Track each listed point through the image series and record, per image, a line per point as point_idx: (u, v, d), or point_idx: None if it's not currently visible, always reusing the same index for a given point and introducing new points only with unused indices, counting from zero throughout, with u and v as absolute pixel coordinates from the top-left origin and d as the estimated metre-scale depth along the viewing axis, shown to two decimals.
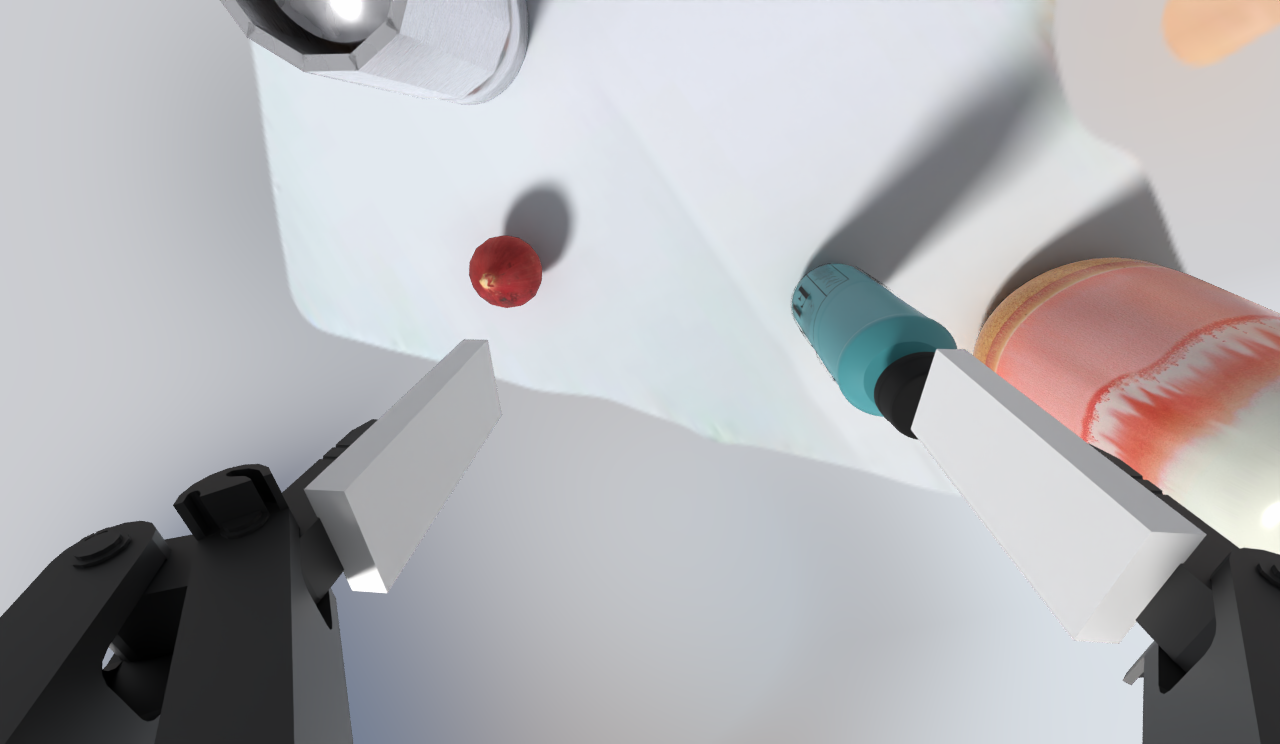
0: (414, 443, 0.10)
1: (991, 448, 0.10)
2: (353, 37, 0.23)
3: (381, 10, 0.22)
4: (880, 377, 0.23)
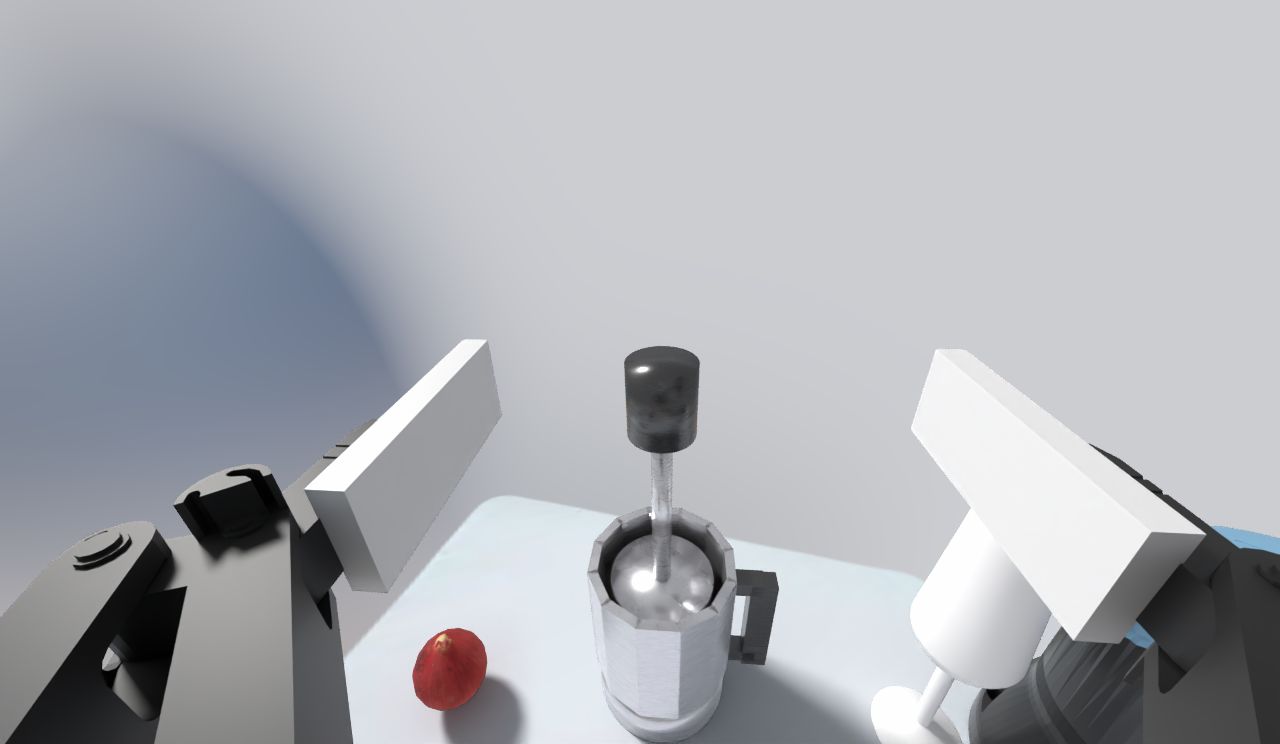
0: (414, 443, 0.10)
1: (991, 448, 0.10)
2: (612, 577, 0.35)
3: (623, 599, 0.33)
4: None
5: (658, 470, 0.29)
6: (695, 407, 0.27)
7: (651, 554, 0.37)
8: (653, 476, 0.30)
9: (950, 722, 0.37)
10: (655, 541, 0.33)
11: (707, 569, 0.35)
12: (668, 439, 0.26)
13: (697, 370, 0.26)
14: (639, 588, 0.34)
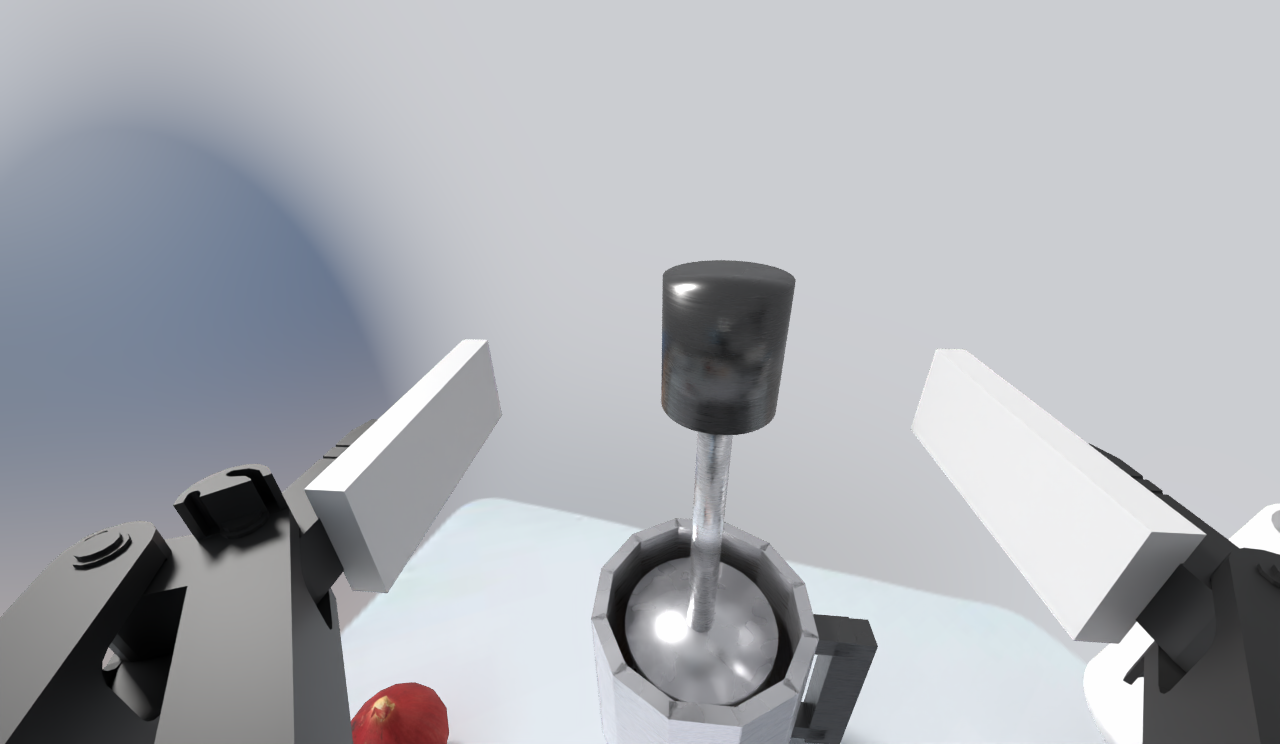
0: (414, 443, 0.10)
1: (991, 448, 0.10)
2: (628, 623, 0.24)
3: (645, 659, 0.22)
4: None
5: (709, 465, 0.18)
6: (783, 356, 0.16)
7: (683, 587, 0.26)
8: (699, 475, 0.19)
9: None
10: (696, 574, 0.21)
11: (766, 613, 0.24)
12: (738, 410, 0.15)
13: (793, 287, 0.14)
14: (668, 641, 0.23)
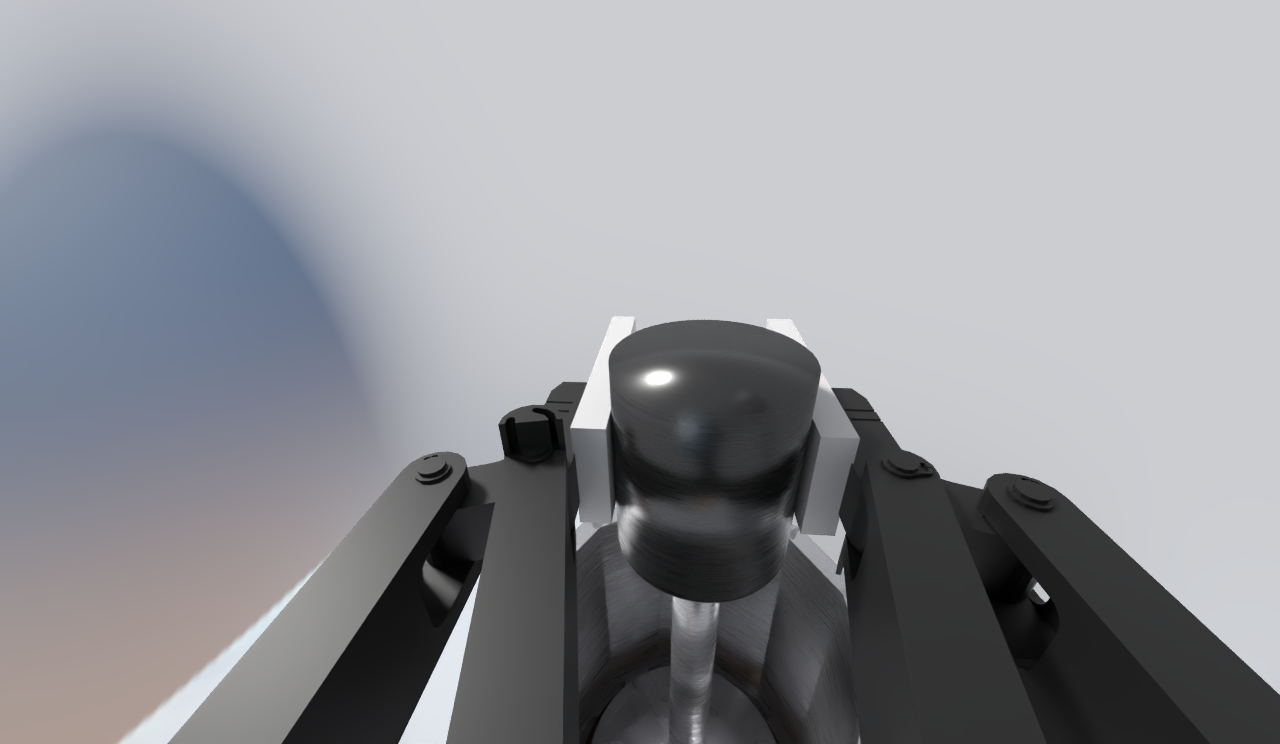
0: None
1: None
2: None
3: None
4: None
5: (690, 612, 0.13)
6: (799, 480, 0.10)
7: (664, 713, 0.20)
8: (677, 619, 0.13)
9: None
10: (677, 729, 0.16)
11: None
12: (730, 571, 0.10)
13: None
14: None
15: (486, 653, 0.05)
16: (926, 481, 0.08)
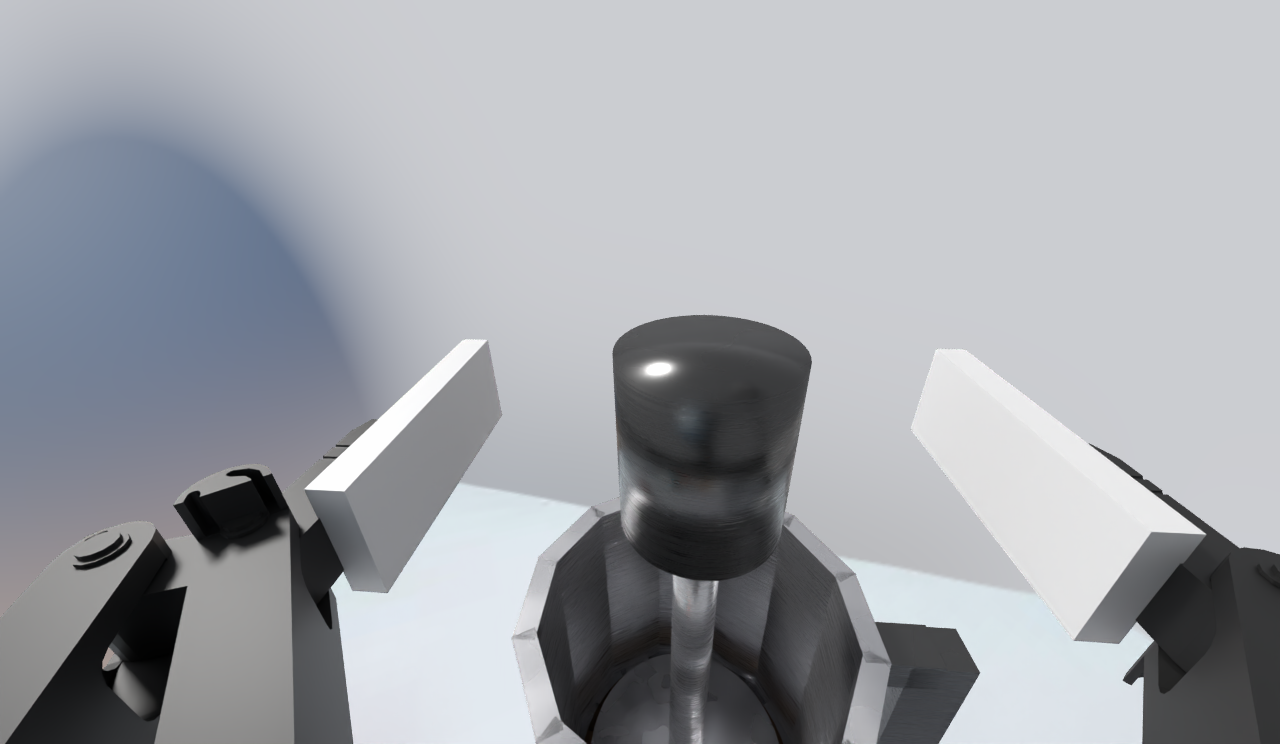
0: (414, 443, 0.10)
1: (991, 448, 0.10)
2: None
3: None
4: None
5: (689, 594, 0.13)
6: (792, 465, 0.11)
7: (664, 699, 0.21)
8: (677, 601, 0.14)
9: None
10: (677, 710, 0.16)
11: (768, 737, 0.19)
12: (727, 550, 0.10)
13: (809, 371, 0.09)
14: None
15: None
16: None
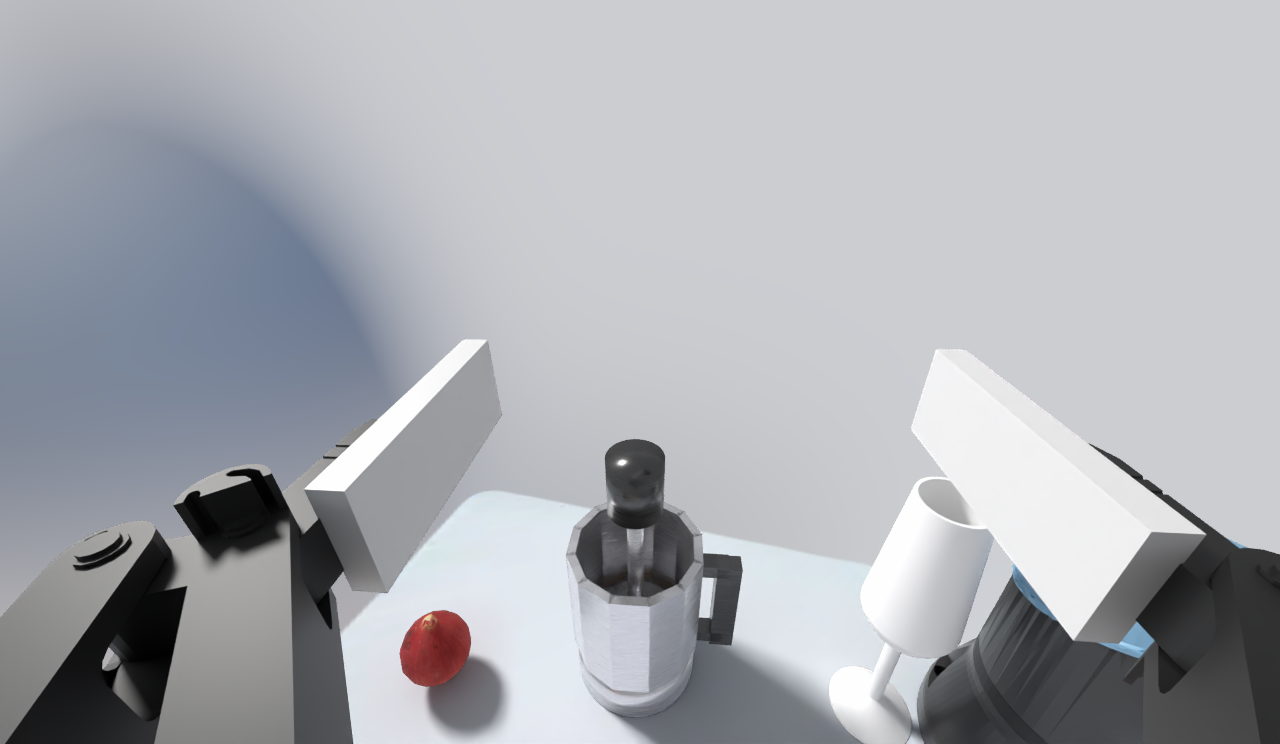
0: (414, 443, 0.10)
1: (991, 448, 0.10)
2: None
3: None
4: None
5: (632, 538, 0.36)
6: (661, 493, 0.33)
7: None
8: (628, 542, 0.36)
9: (901, 698, 0.40)
10: (630, 592, 0.39)
11: None
12: (639, 519, 0.33)
13: (662, 466, 0.32)
14: None
15: None
16: None
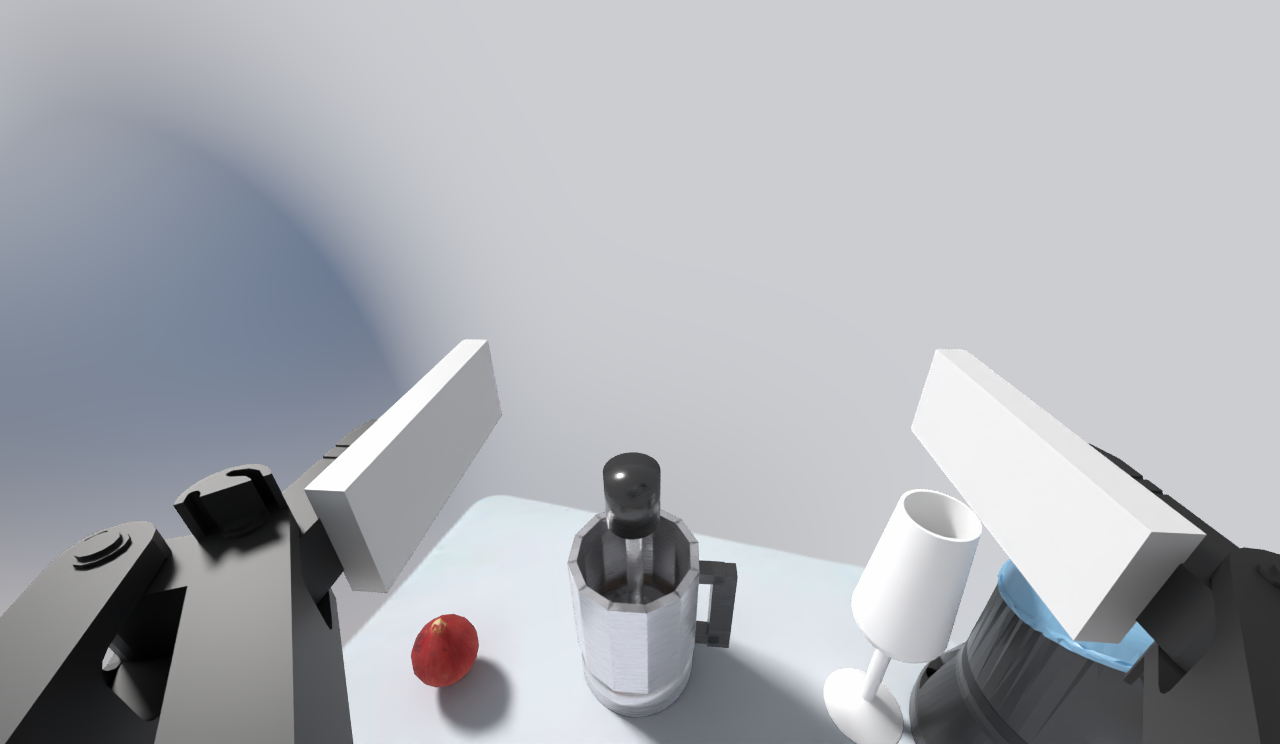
0: (414, 443, 0.10)
1: (991, 448, 0.10)
2: None
3: None
4: None
5: (630, 547, 0.37)
6: (657, 504, 0.35)
7: None
8: (627, 550, 0.38)
9: (893, 699, 0.42)
10: (630, 597, 0.41)
11: None
12: (636, 529, 0.34)
13: (658, 479, 0.34)
14: None
15: None
16: None
